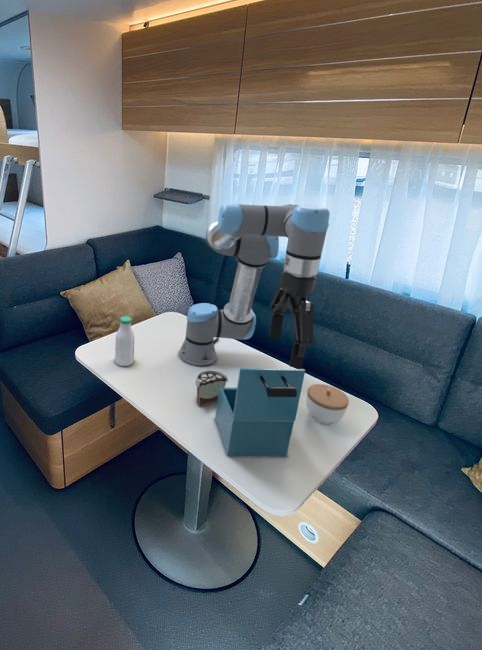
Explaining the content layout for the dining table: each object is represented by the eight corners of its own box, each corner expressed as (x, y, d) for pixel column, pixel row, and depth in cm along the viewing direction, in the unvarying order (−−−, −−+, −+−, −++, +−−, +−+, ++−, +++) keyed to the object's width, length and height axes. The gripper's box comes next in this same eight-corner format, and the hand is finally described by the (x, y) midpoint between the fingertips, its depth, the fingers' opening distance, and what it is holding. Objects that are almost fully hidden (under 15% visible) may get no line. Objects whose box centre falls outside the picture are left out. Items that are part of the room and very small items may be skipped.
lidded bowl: (296, 405, 146) (301, 379, 142) (330, 404, 147) (336, 378, 143) (314, 430, 134) (321, 402, 130) (351, 429, 135) (358, 401, 131)
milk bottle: (131, 367, 166) (133, 323, 159) (113, 365, 167) (114, 321, 160) (134, 357, 173) (136, 315, 166) (117, 355, 174) (118, 313, 167)
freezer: (214, 419, 138) (219, 387, 133) (267, 420, 138) (273, 388, 134) (227, 455, 123) (232, 420, 118) (286, 456, 123) (294, 421, 119)
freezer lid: (239, 368, 113) (250, 387, 104) (304, 369, 113) (319, 388, 105) (232, 418, 118) (241, 440, 110) (293, 419, 119) (307, 441, 110)
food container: (215, 390, 153) (218, 367, 150) (225, 399, 148) (228, 376, 144) (186, 396, 149) (189, 373, 145) (195, 407, 144) (198, 383, 140)
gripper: (265, 255, 107) (253, 327, 115) (307, 293, 84) (289, 380, 92) (293, 256, 107) (279, 327, 115) (343, 294, 84) (322, 380, 92)
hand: (284, 351), depth 103 cm, fingers open, 13 cm apart
